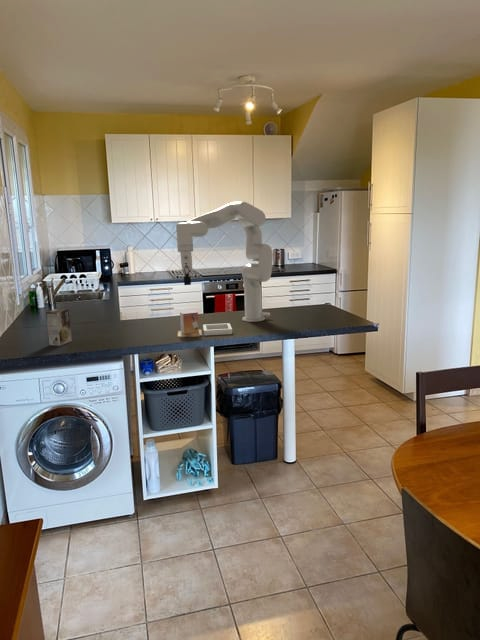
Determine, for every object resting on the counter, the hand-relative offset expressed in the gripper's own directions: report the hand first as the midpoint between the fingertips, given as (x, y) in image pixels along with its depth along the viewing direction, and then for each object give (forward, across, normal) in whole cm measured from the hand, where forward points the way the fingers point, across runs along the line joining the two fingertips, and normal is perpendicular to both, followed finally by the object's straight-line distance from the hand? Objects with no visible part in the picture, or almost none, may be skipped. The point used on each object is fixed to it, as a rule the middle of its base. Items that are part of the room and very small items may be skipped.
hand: (187, 283), depth 239 cm
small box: (+25, 0, 0) cm, 25 cm away
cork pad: (+26, 0, 0) cm, 26 cm away
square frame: (+26, +2, -14) cm, 29 cm away
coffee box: (+25, -4, +62) cm, 67 cm away
